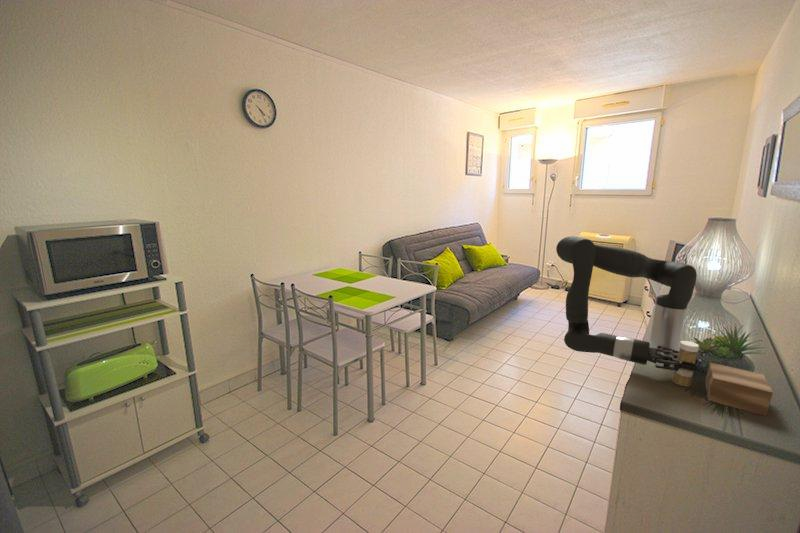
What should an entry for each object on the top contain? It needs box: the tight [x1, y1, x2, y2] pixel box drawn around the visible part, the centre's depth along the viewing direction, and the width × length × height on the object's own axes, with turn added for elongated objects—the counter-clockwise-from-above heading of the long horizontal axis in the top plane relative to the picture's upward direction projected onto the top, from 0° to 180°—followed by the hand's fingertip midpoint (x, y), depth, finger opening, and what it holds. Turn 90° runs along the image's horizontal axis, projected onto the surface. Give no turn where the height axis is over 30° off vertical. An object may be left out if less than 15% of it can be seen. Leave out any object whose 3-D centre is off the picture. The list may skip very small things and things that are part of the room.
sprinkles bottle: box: [672, 340, 700, 388], centre depth 111 cm, size 5×5×13 cm
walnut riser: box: [704, 362, 774, 417], centre depth 104 cm, size 12×12×7 cm
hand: (696, 365), depth 109 cm, fingers closed on sprinkles bottle, 4 cm apart
